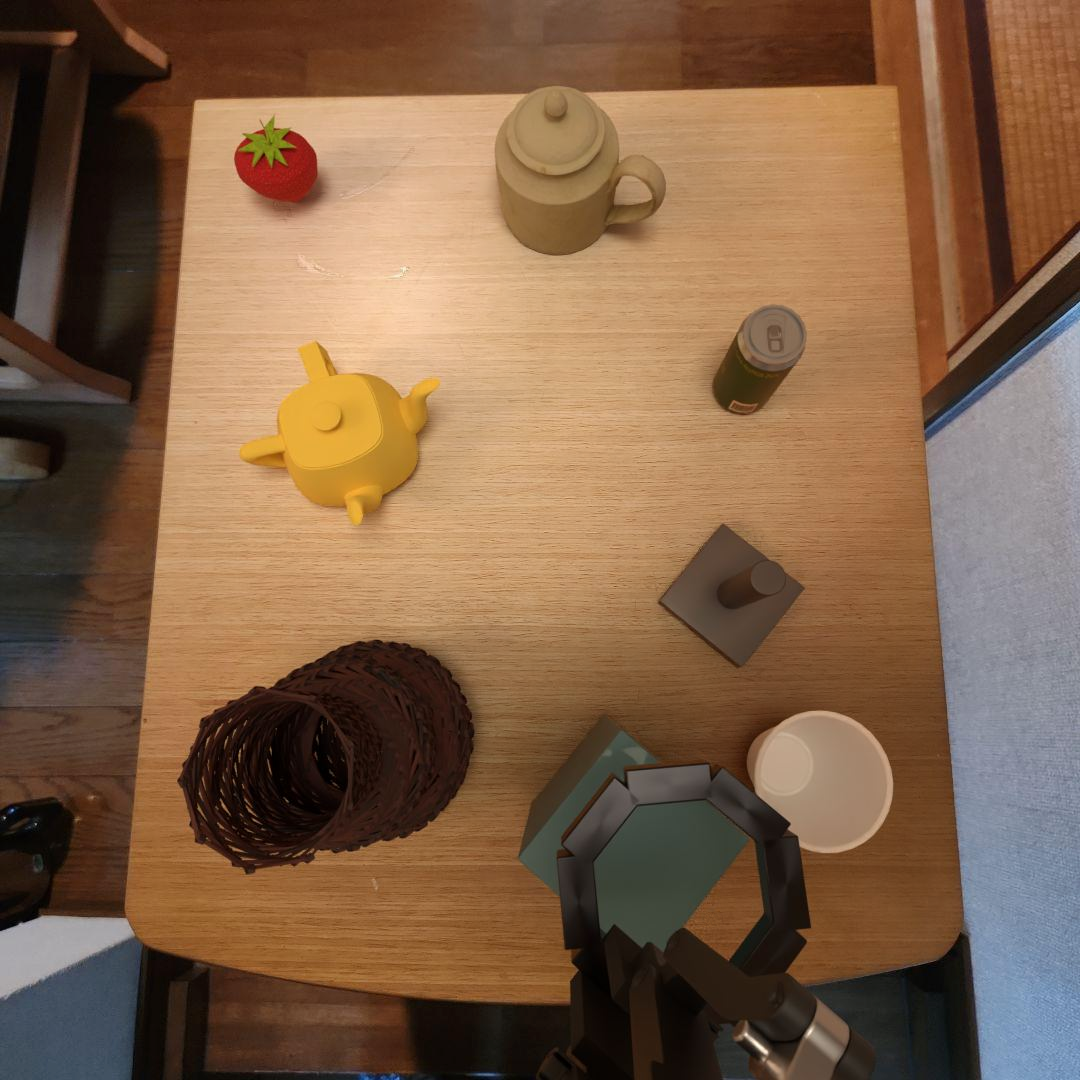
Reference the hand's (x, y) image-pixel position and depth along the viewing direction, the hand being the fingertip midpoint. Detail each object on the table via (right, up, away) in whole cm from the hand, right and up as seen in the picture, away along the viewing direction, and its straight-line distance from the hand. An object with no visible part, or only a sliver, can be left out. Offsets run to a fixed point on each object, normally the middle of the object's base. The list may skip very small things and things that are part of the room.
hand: (616, 974), depth 33 cm
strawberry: (-27, +53, +44) cm, 74 cm away
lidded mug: (0, +52, +43) cm, 67 cm away
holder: (+14, +14, +36) cm, 41 cm away
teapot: (-20, +27, +39) cm, 51 cm away
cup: (+17, 0, +33) cm, 38 cm away
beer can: (+15, +33, +39) cm, 53 cm away
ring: (+3, +3, +2) cm, 5 cm away
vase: (-16, +2, +35) cm, 38 cm away
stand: (+3, -3, +33) cm, 33 cm away
